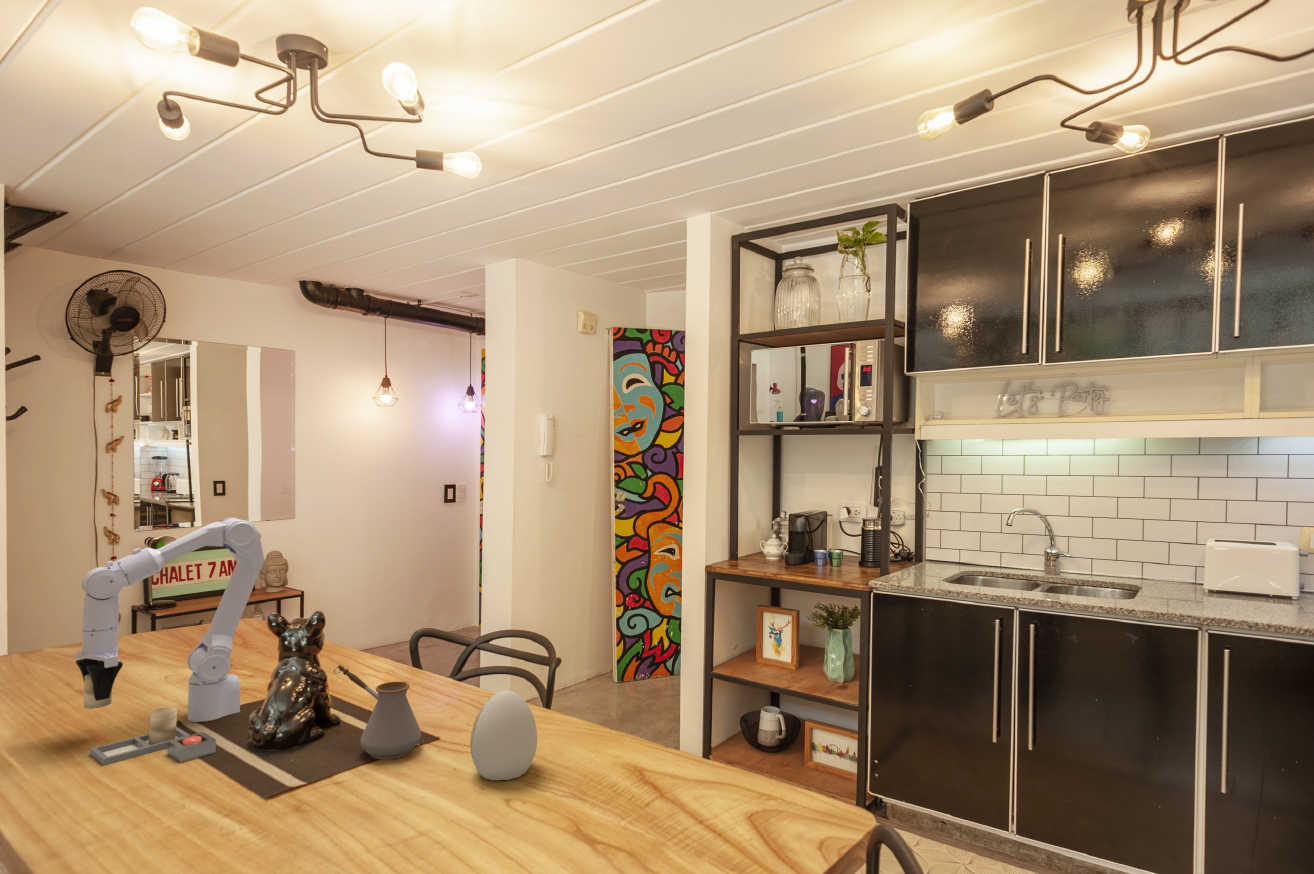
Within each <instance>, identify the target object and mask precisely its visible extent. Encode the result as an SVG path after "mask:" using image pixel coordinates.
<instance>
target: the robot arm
mask: <svg viewBox="0 0 1314 874" xmlns="http://www.w3.org/2000/svg"><path fill="white" fill-rule="evenodd" d="M261 539H262V534H261V532H260V531H259V529H257V526H255V524H254V523H253V522H252V521H249V520H246V519H244V520H243V519H240V518H239V517H233V516H230V517H225V518H223V519H221V520H220V521H215V522H211V523H209V524H207V525H205V526H202V527H200V528H198V529H196V530H194V531H192V532H191V533H188V534H186V535H184V536H182V537H180V538H178V539H175V540H174V541H171V542H169V543H168V544H166V545H164V546H161V547H159V548H156V549H155V548H151V547H145V548H142V549H141V547H137V548H134V549H132V553H131V554H129V555H126V556H124V557H122V558H120V559H117V560H115V561H113V560H109V561H107V562H106V566H107V567H106V566H99V567H98V566H97V567H94V568H93V569H91V570H89V571H88V572H87V574H86V575H85V576H84V577H83V580H82V581H81V587H82V589H83V591H84V592H86V593H85V594H84V598H83V602H84V606H83V608H82V626H81V627H82V629H81V630H82V634H81V635H82V636H81V650H80V652H75V653H73V658H75V659H77V660H76V661H75V664H76V665H77V667H78V668H79V670H80V673H81V675H82V679H83V682H84V681H85V676H86V675H87V674H90V677H91V680H92V684H93V692H94V697H95V700H96V701H98V700H103V699H108V698H109V696H110V693H111V690H112V689H113V686H114V684H115V680H116V679H117V676H118V674H119V672H120V670H121V669H122V668H123V666H124V665H123V664H124V663H123V662H122V661H119V655H118V654H119V647H118V645H119V643H118V642H119V641H118V640H119V617H120V616H119V615H120V613H119V612H120V610H119V609H120V604H119V594H120V592H121V591H122V589H123V587H124V588H128V587H130V586H132V585H134V584H136V583H138V582H141V581H143V580H145V579H147V578H149V577H152V576H153V575H156V574H158V573H160V572H161V570H162V569H163V567H164V564H165V563H168V562H170V561H172V560H175V559H177V558H179V557H182V556H185V555H187V554H189V553H192V552H194V551H195V550H198V549H200V548H204V547H206V546H207V547H226V548H227V550H229V551H230V554H231V555H232V556H233V557H232V558H234V560H235V562H236V564H235V566H234V569H233V571H232V572H231V575H230V578H229V579H228V580H229V581H228V583H227V585H226V587H225V589H224V592H223V595H222V597H221V599H220V602H219V605H217V609H216V611H215V613H214V616H213V618H212V621H211V623H210V625H209V628H208V630H207V631H206V633H205V634H204V635H202V637H201V639H200V640H199V643H198V645H197V646H196V647H194V649H193V650H192V651H191V652H190V653H189V654H188V657H187V666H188V668H189V669H190V670H191V671H192V673H191V675H190V677H189V678H188V690H187V691H188V694H187V720H188V721H190V722H195V723H199V722H208V721H209V722H210V721H214V720H218V719H220V718H223V717H226V716H227V717H228V716H229V715H233V714H237V713H240V712H241V683H240V679H239V677H238V675H237V674H233V673H232V674H228V673H229V671H230V669H231V654H232V652H233V638H234V636H235V633H236V631H237V627H238V626H239V623H240V621H241V618H242V616H243V613H244V611H245V608H246V607H247V604H248V601H249V599H250V597H251V594H252V592H253V590H254V587H255V585H256V582H257V579H258V578H259V575H260V573H261V569H262V567H263V565H264V562H265V557H264V550H263V547H262V546H263V545H262V541H261ZM112 691H113V690H112Z"/></svg>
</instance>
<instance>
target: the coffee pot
mask: <svg viewBox="0 0 1314 874" xmlns="http://www.w3.org/2000/svg"><path fill="white" fill-rule="evenodd" d="M337 669H338V670H339V671H338V672H337V673H336V672H335V671H336V670H337ZM341 672H342V673H343V675H344V676H347V677H348V679H349V680H350V681H351V682H353V683H354V684H356V685H357V686H359V688H362V689H363V690H365V691H367V693H369V694H370V695H371V696H372V697H373V698H374V699H375V700H377V701H376V703H375V705H374V707H373V710H372V712H371V713H370V717H369V719H368V720H367V724H366V726H365V728H364V730H363V732H362V735H361V737H360V739H359V742H360V745H361V748H362V749H363V750H364V751H365V752H366V753H367V754H369V755H370V757H372V758H374V759H377V760H393V759H398V758H402V757H404V756H406V755H408V754H409V753H410V752H411V751H412V750H413V749H414V748H415V747H416V746H417V745H418V743H419V742H420V740H421V738H422V730H421V728H420V726H419V723H418V722H417V718H416V716H415V714H414V712H413V710H412V707H411V705H410V702H409V700H408V697H407V693H408V690H409V689H410V687H411V685H410V684H409V682H406V681H390V682H384V683H380V684H378V685H376V687H375V691H374V690H373V689H372V688H370V687H369V686H368V685H367V684H366V683H365V682H364V681H363V680H362V679H360V677H359V676H357V675H356V674H355V673H352V672H351V671H349V669H348V668H345V666H343V665H341V664H338V665H337V667H336V668H334V670H333V674H335V675H338V674H340V673H341Z"/></svg>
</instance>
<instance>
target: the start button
mask: <svg viewBox="0 0 1314 874" xmlns="http://www.w3.org/2000/svg"><path fill="white" fill-rule="evenodd" d="M201 738H202V737H201V736H191V737H187V738H185V739H183V746H188V745H191V744H195V743H199V742H201Z"/></svg>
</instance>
